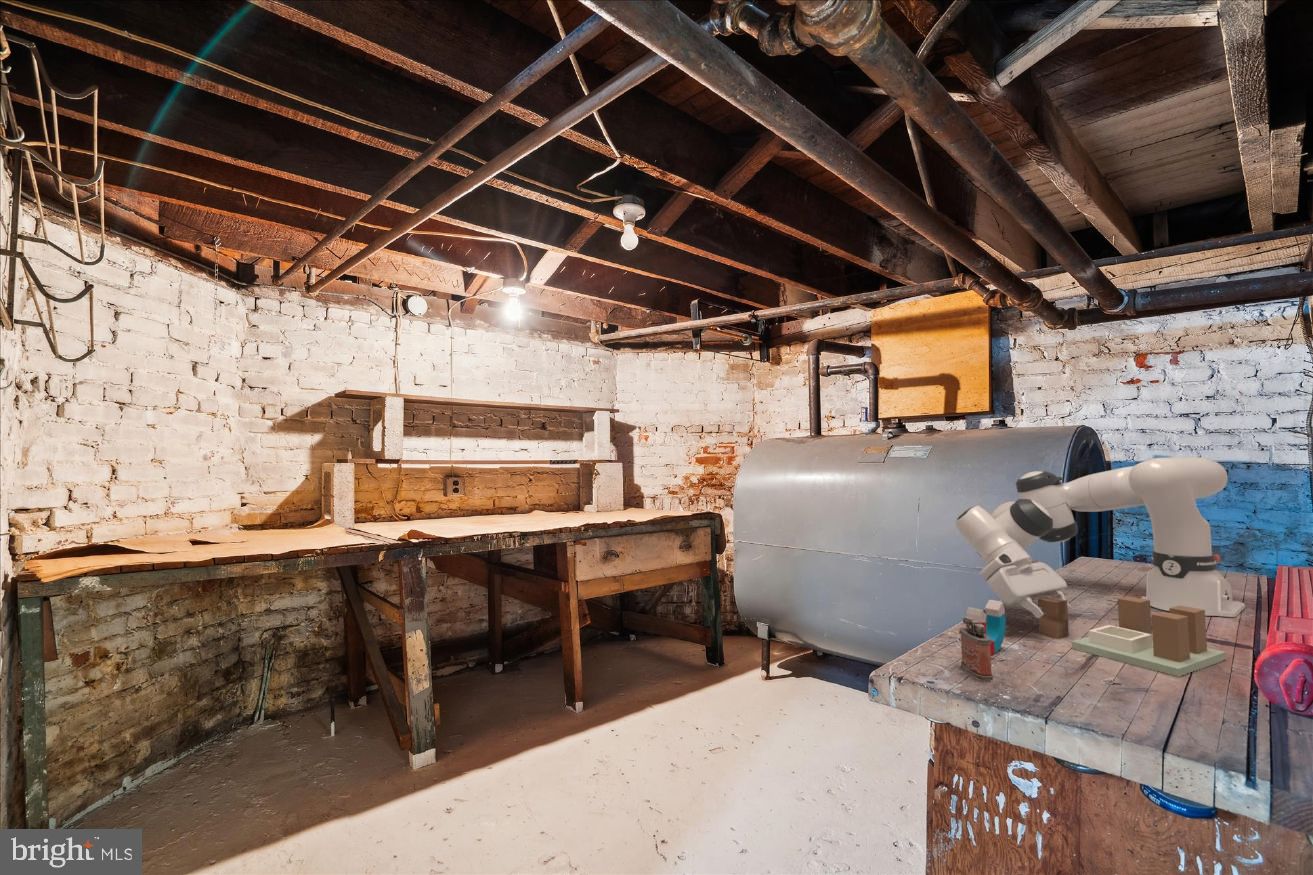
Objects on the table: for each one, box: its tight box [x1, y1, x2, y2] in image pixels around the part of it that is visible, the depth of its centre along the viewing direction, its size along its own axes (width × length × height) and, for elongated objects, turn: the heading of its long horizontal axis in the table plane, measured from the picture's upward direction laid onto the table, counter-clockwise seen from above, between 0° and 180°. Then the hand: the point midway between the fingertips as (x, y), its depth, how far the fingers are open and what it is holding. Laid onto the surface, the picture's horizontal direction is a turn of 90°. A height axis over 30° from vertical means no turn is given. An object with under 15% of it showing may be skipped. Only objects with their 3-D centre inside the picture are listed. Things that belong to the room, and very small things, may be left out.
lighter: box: [959, 615, 994, 682], centre depth 109 cm, size 8×3×10 cm, turn 179°
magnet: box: [965, 599, 1007, 655], centre depth 119 cm, size 12×3×10 cm, turn 126°
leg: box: [1037, 596, 1070, 640], centre depth 129 cm, size 4×4×8 cm
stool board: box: [1071, 595, 1227, 678], centre depth 116 cm, size 18×18×10 cm
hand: (1055, 613), depth 129 cm, fingers open, 8 cm apart
